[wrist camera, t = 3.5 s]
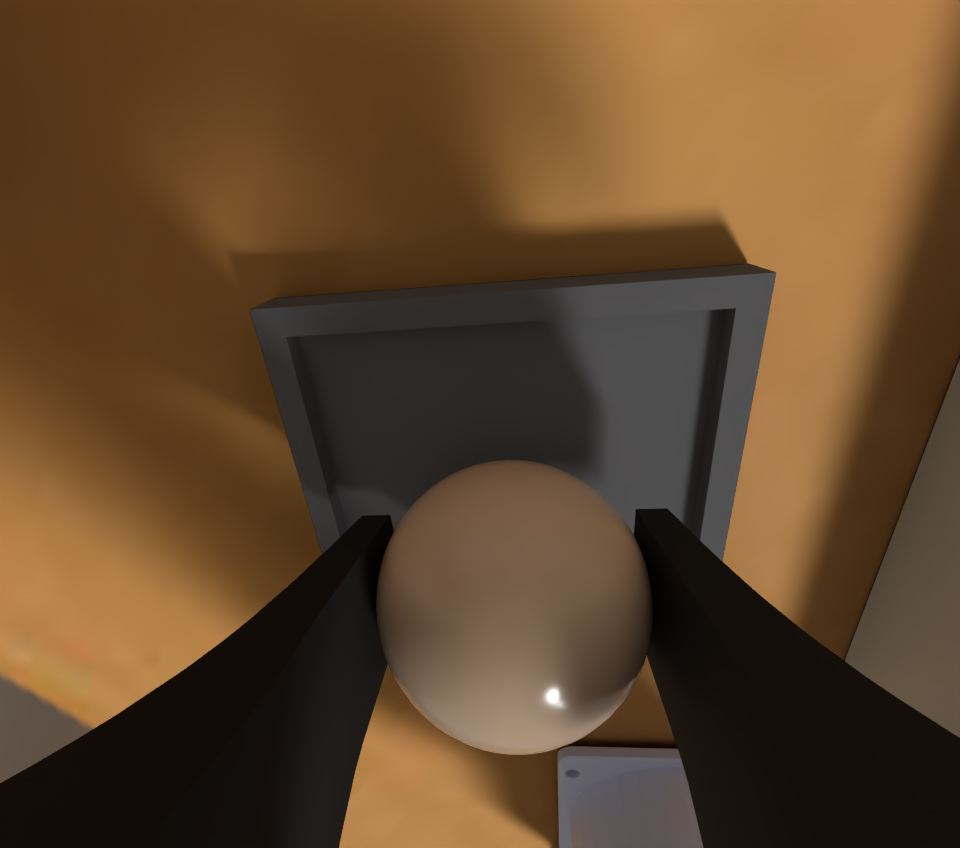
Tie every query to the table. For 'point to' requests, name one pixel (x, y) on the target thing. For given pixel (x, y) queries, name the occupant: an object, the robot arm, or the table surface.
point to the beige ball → (514, 607)
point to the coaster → (523, 388)
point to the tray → (921, 586)
